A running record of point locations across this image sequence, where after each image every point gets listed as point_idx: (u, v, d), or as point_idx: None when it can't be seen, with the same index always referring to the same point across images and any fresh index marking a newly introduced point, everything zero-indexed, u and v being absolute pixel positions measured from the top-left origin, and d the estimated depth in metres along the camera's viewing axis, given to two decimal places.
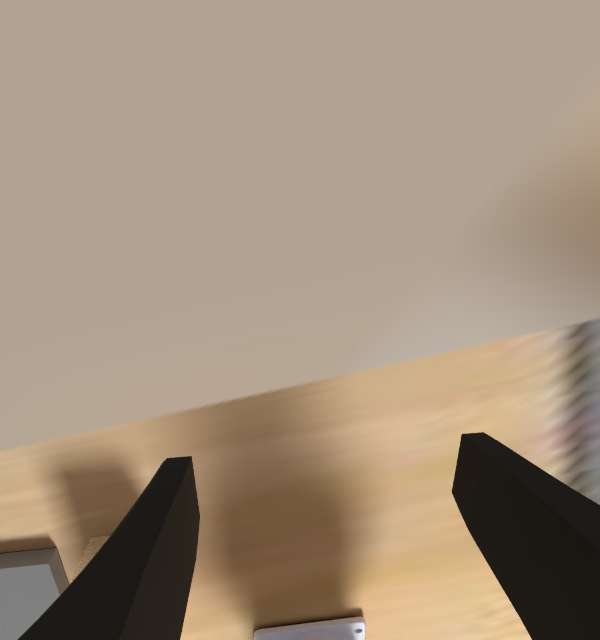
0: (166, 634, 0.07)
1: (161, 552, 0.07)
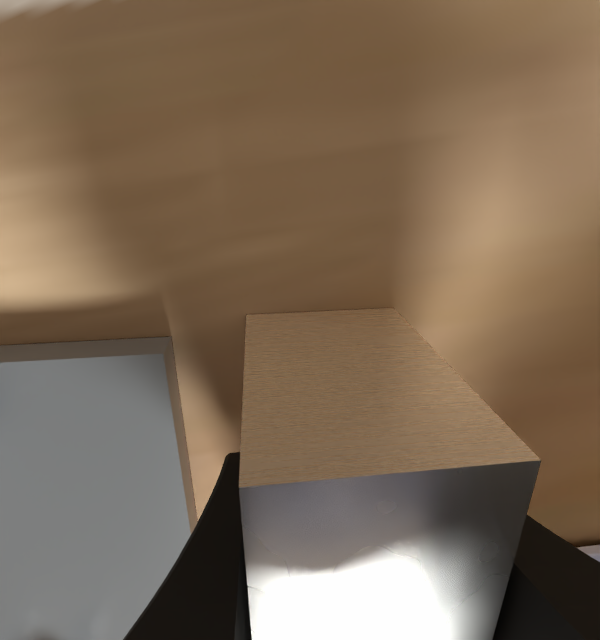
0: (247, 624, 0.08)
1: None
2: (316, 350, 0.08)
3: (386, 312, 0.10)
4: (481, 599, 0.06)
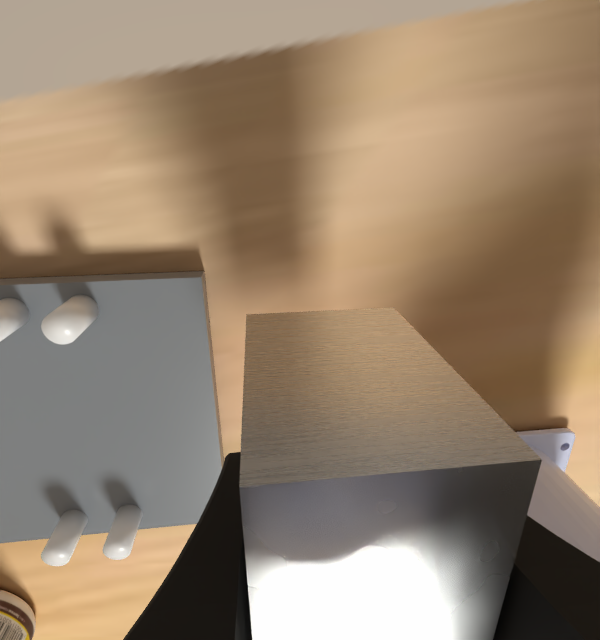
0: (247, 624, 0.08)
1: None
2: (315, 350, 0.08)
3: (386, 312, 0.10)
4: (482, 599, 0.06)
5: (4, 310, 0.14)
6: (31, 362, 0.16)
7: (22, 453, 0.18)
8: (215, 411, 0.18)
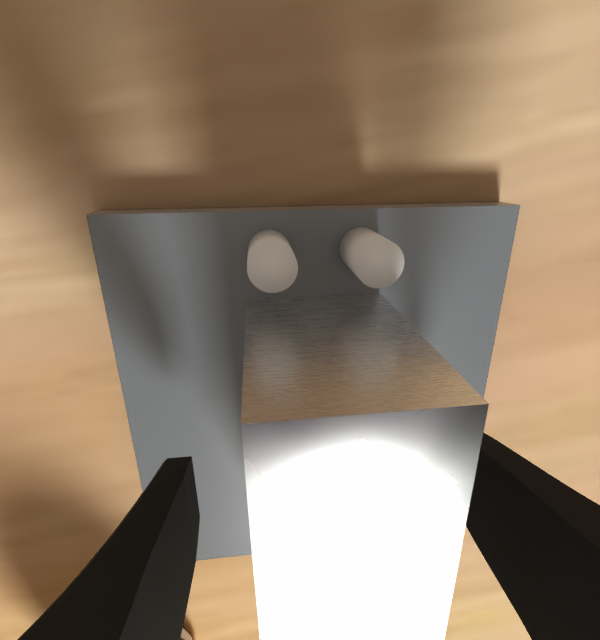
0: (166, 634, 0.07)
1: (161, 552, 0.07)
2: (307, 327, 0.10)
3: (372, 296, 0.12)
4: (446, 528, 0.07)
5: (285, 241, 0.10)
6: None
7: (238, 446, 0.13)
8: (482, 392, 0.14)
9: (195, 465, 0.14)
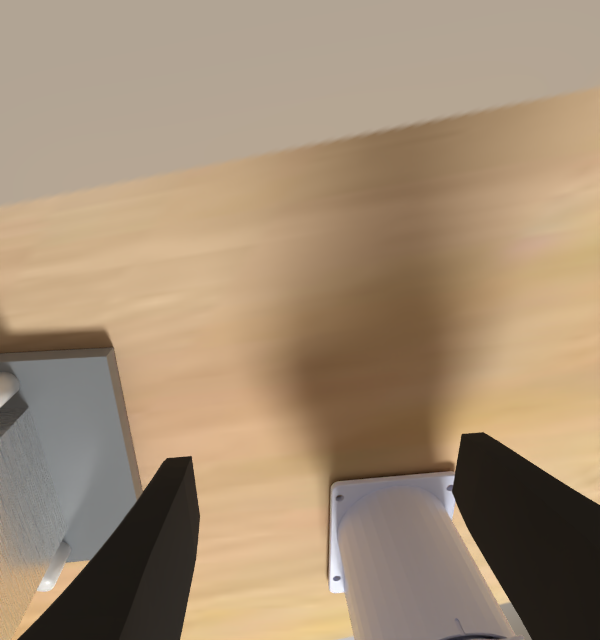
0: (166, 634, 0.07)
1: (161, 552, 0.07)
2: None
3: (18, 411, 0.19)
4: None
5: None
6: None
7: None
8: (129, 463, 0.21)
9: None
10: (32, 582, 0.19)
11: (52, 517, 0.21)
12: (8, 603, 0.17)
